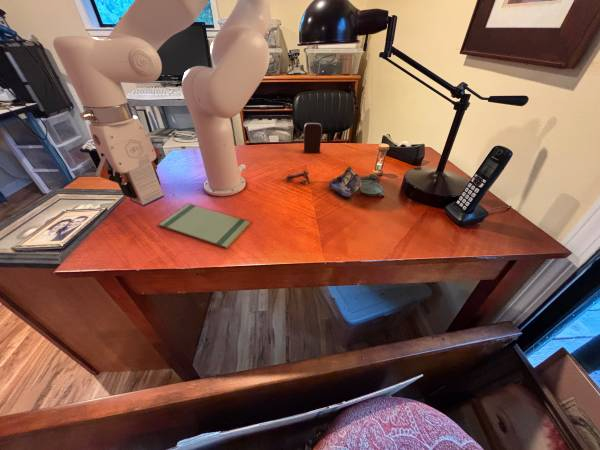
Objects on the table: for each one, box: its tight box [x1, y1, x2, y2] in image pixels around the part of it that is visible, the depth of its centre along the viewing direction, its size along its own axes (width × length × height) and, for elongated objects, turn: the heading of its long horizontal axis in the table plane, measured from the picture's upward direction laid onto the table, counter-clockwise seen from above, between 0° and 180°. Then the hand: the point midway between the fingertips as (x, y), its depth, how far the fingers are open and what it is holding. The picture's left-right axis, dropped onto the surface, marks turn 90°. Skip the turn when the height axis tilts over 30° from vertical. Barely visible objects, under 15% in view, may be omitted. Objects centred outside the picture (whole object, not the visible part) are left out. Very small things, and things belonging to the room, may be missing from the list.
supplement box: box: [127, 155, 165, 208], centre depth 58 cm, size 6×6×12 cm
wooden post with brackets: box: [285, 170, 311, 185], centre depth 77 cm, size 2×8×4 cm, turn 66°
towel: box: [158, 203, 251, 249], centre depth 60 cm, size 10×20×1 cm, turn 68°
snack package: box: [328, 166, 363, 200], centre depth 74 cm, size 12×6×12 cm
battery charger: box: [303, 121, 323, 154], centre depth 95 cm, size 7×4×11 cm, turn 91°
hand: (143, 189), depth 60 cm, fingers closed on supplement box, 6 cm apart
